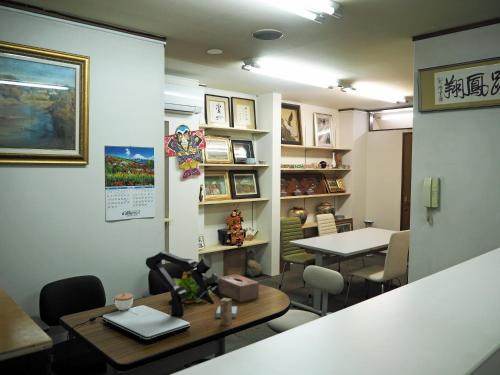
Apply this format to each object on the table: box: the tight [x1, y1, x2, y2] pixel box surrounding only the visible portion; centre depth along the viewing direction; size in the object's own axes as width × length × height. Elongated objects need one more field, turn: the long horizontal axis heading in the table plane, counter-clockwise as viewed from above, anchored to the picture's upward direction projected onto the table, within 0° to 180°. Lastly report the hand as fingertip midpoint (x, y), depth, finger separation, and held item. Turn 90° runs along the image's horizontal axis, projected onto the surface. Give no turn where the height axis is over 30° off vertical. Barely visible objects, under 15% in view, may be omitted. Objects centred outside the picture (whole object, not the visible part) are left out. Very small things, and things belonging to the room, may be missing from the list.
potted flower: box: [172, 271, 213, 304], centre depth 255 cm, size 25×24×18 cm
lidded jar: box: [114, 292, 134, 311], centre depth 240 cm, size 11×11×9 cm
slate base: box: [215, 305, 238, 319], centre depth 231 cm, size 11×11×2 cm
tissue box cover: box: [218, 273, 260, 303], centre depth 267 cm, size 26×14×10 cm, turn 36°
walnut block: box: [219, 297, 233, 327], centre depth 217 cm, size 4×4×13 cm
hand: (217, 301), depth 219 cm, fingers open, 9 cm apart
